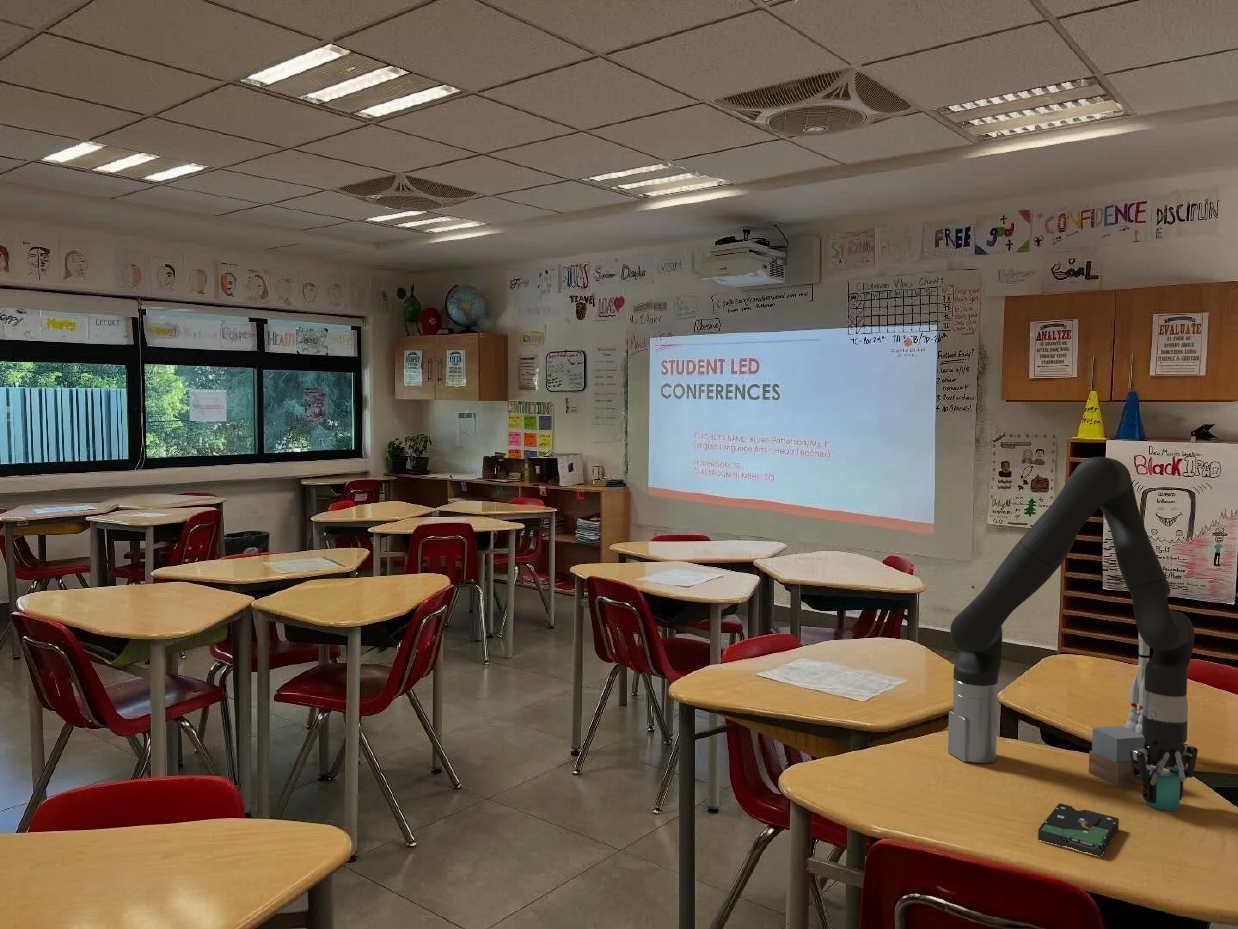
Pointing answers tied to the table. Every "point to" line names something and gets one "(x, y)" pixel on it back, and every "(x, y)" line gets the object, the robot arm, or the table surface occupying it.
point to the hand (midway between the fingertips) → (1162, 800)
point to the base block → (1112, 771)
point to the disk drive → (1079, 829)
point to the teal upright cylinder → (1167, 791)
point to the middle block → (1116, 742)
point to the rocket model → (1138, 690)
